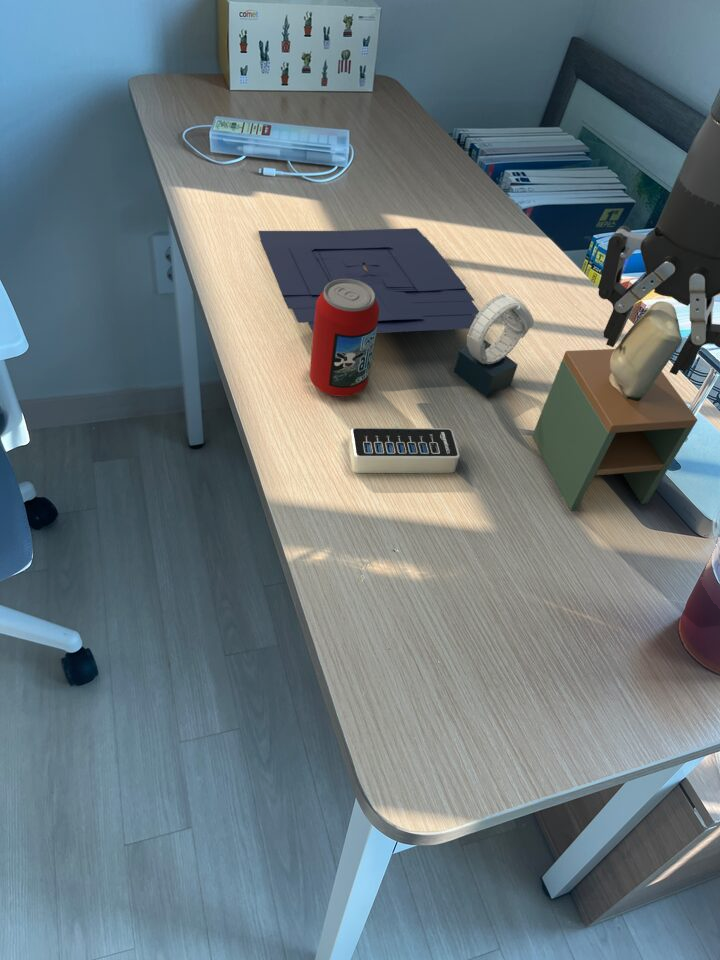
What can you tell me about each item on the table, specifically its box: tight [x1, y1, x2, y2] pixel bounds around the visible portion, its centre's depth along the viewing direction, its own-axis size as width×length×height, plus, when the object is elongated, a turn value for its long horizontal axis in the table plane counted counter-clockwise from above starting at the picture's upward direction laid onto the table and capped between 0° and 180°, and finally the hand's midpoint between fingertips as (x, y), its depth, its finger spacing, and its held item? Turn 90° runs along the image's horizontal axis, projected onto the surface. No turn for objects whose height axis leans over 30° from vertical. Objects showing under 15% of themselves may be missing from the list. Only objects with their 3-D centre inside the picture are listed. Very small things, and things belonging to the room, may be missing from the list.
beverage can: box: [309, 279, 379, 397], centre depth 83 cm, size 7×7×12 cm
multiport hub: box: [348, 427, 460, 474], centre depth 79 cm, size 4×11×2 cm, turn 97°
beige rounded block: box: [609, 300, 683, 401], centre depth 70 cm, size 6×5×8 cm
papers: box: [257, 227, 480, 334], centre depth 99 cm, size 24×30×4 cm
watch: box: [453, 293, 535, 398], centre depth 87 cm, size 6×8×11 cm
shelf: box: [531, 348, 698, 511], centre depth 78 cm, size 11×9×12 cm
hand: (643, 355), depth 71 cm, fingers open, 5 cm apart
